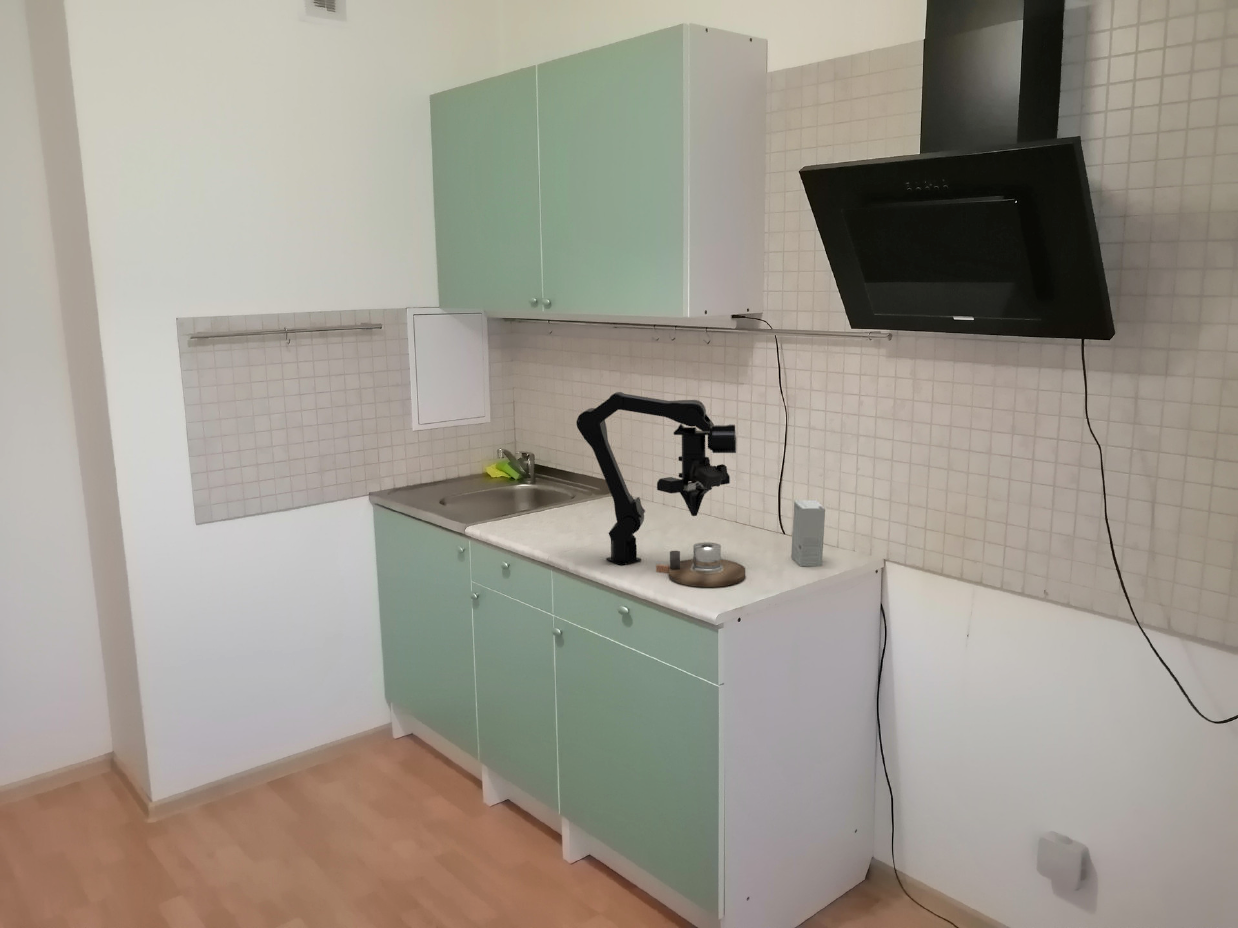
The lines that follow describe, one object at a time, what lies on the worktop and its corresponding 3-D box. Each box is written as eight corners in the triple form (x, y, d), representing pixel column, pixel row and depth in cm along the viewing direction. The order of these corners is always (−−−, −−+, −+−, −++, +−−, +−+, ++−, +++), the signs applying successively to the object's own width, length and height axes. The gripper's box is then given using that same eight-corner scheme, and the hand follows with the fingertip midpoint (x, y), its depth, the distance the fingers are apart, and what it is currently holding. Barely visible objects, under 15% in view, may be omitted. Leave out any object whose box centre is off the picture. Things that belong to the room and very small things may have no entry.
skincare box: (790, 557, 244) (791, 499, 241) (814, 556, 245) (815, 498, 242) (800, 567, 236) (801, 507, 233) (824, 566, 236) (825, 506, 234)
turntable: (666, 585, 222) (666, 562, 221) (670, 563, 239) (670, 541, 238) (746, 587, 220) (746, 563, 219) (744, 564, 237) (744, 543, 236)
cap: (691, 572, 226) (691, 549, 225) (692, 563, 233) (692, 541, 232) (722, 573, 225) (722, 549, 224) (722, 564, 232) (722, 541, 231)
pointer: (656, 571, 234) (656, 565, 234) (657, 570, 235) (657, 564, 235) (668, 572, 233) (668, 566, 233) (669, 571, 234) (669, 565, 233)
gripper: (684, 461, 224) (685, 528, 227) (745, 452, 234) (745, 515, 237) (655, 455, 233) (656, 519, 236) (714, 447, 243) (714, 508, 246)
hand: (694, 515), depth 238 cm, fingers closed
